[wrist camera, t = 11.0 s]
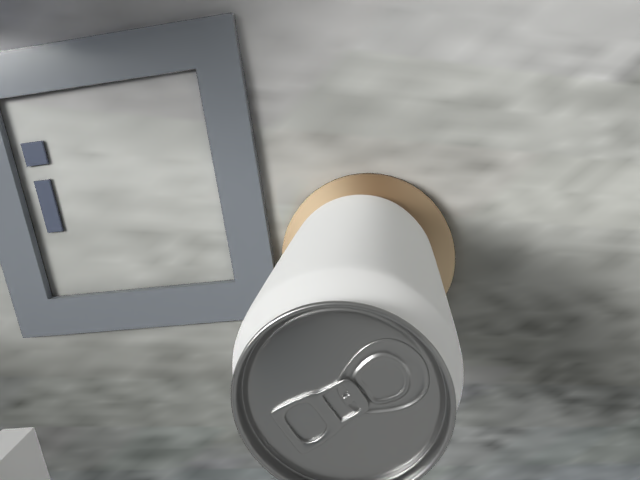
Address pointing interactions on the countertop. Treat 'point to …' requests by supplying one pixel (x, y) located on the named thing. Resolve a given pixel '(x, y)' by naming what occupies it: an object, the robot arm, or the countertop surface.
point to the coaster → (397, 193)
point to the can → (349, 351)
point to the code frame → (228, 159)
